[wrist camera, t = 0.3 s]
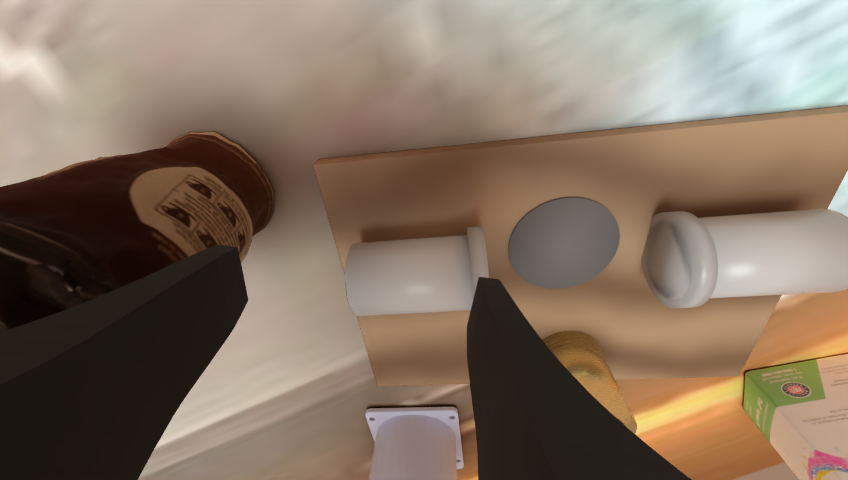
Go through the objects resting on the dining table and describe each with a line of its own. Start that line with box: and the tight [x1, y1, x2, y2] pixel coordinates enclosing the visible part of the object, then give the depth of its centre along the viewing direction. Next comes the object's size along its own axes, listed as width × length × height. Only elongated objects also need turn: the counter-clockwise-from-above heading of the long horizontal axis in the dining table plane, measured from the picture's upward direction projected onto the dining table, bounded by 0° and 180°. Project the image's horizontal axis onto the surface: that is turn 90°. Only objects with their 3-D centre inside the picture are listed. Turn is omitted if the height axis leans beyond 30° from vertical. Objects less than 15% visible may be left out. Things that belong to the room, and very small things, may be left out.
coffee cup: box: [0, 132, 274, 332], centre depth 14 cm, size 9×8×13 cm
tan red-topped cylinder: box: [543, 331, 637, 434], centre depth 22 cm, size 4×4×6 cm
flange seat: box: [508, 197, 620, 289], centre depth 20 cm, size 6×6×1 cm
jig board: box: [313, 106, 848, 386], centre depth 22 cm, size 18×26×1 cm
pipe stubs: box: [345, 209, 848, 316], centre depth 18 cm, size 5×23×5 cm, turn 97°
